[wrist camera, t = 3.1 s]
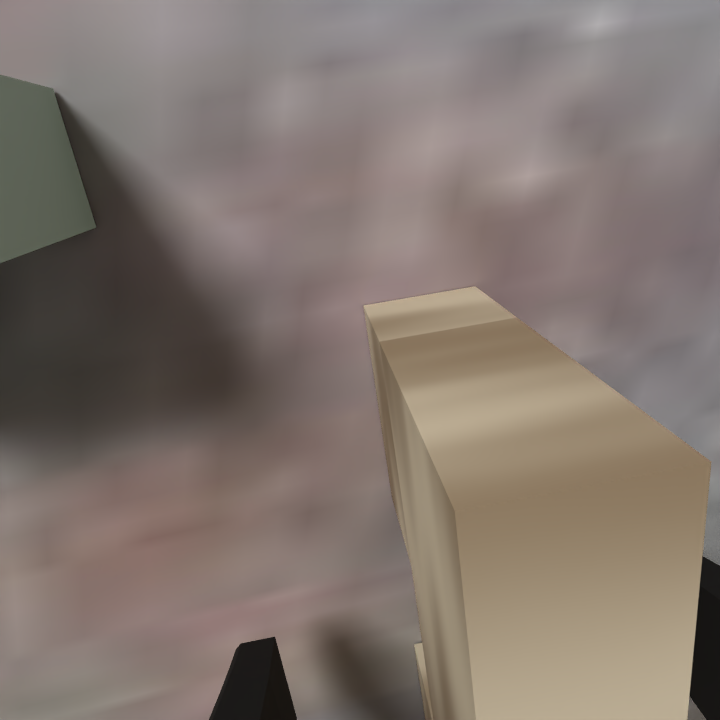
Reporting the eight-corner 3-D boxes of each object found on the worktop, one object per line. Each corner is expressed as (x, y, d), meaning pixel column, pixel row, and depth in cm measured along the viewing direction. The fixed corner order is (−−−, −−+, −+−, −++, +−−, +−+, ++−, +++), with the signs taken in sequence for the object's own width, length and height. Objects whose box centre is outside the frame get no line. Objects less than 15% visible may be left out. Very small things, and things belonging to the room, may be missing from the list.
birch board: (508, 745, 14) (647, 1132, 9) (431, 761, 14) (521, 1165, 8) (475, 286, 10) (711, 462, 4) (363, 305, 10) (454, 510, 4)
